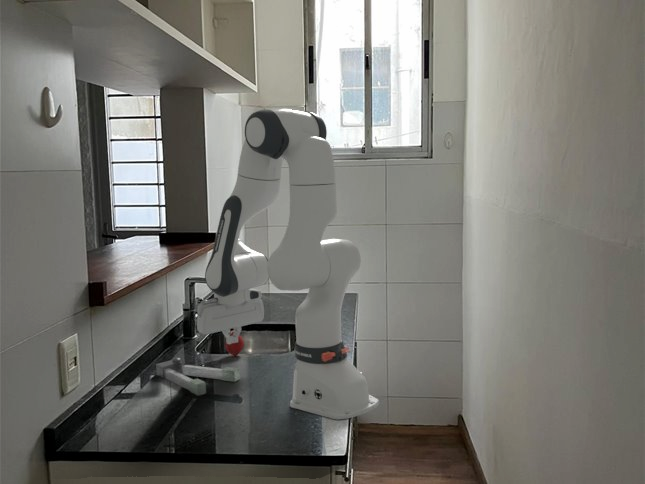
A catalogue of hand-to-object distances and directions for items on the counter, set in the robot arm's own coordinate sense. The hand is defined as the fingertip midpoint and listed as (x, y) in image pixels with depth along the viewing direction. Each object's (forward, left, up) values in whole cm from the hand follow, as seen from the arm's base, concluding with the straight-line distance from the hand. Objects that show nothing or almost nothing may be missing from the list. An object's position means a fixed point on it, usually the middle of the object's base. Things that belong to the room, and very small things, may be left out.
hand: (232, 342), depth 183 cm
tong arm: (+2, +8, -8) cm, 12 cm away
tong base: (+2, +14, -8) cm, 16 cm away
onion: (+12, -8, -8) cm, 17 cm away
